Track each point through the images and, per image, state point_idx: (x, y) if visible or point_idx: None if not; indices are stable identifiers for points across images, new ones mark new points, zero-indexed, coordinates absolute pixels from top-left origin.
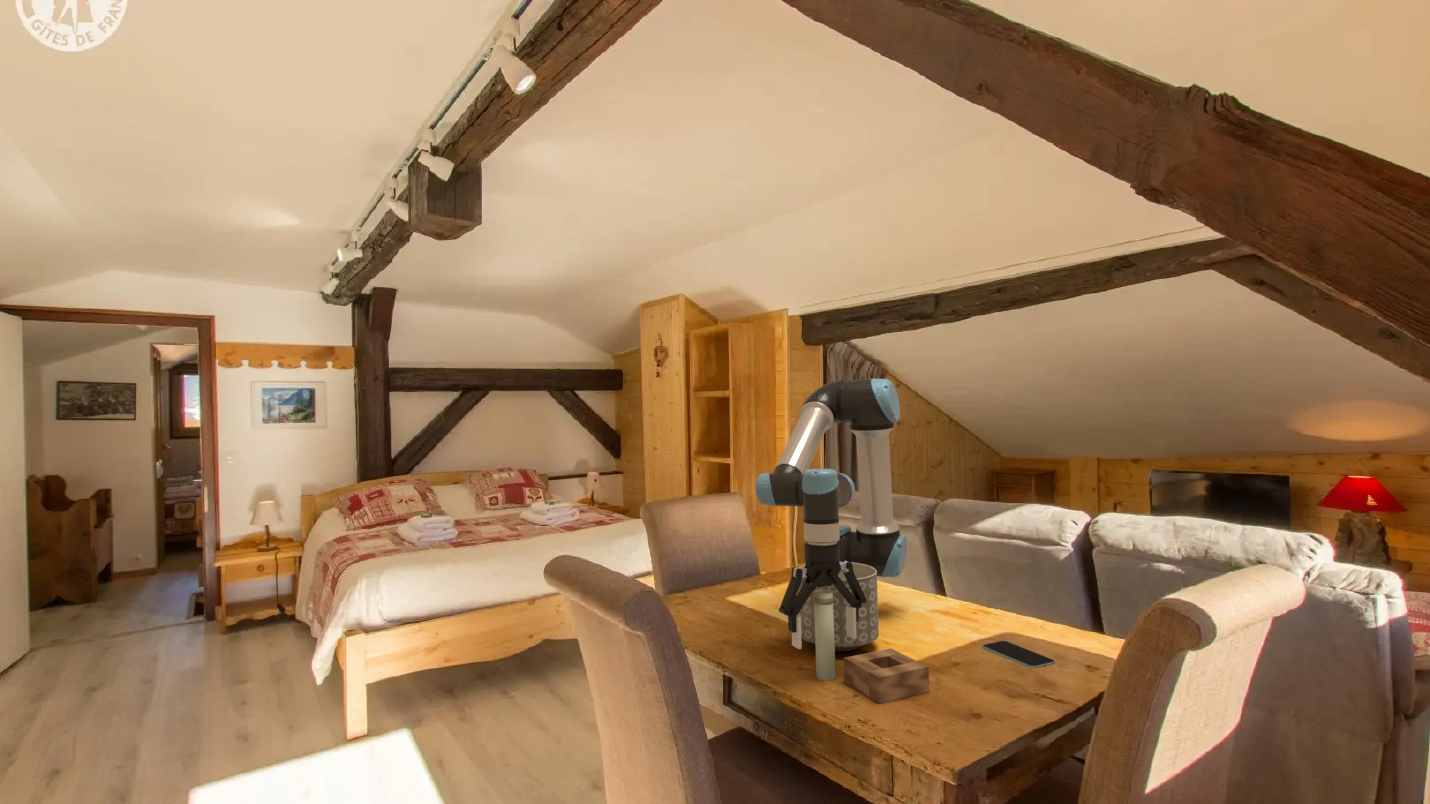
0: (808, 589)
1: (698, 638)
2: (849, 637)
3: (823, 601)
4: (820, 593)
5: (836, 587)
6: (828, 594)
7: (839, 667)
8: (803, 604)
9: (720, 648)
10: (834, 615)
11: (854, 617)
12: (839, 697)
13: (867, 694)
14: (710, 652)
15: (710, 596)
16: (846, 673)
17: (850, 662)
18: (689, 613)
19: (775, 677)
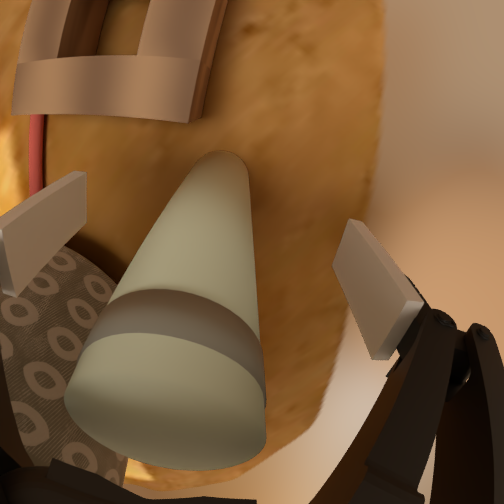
0: (414, 475)
1: (284, 441)
2: (58, 263)
3: (233, 336)
4: (219, 432)
5: (8, 411)
6: (157, 377)
7: (140, 208)
8: (418, 360)
9: (290, 411)
10: (65, 337)
11: (26, 204)
12: (298, 49)
13: (225, 7)
14: (317, 406)
15: (168, 487)
16: (199, 106)
17: (197, 78)
18: (226, 479)
19: (329, 260)
